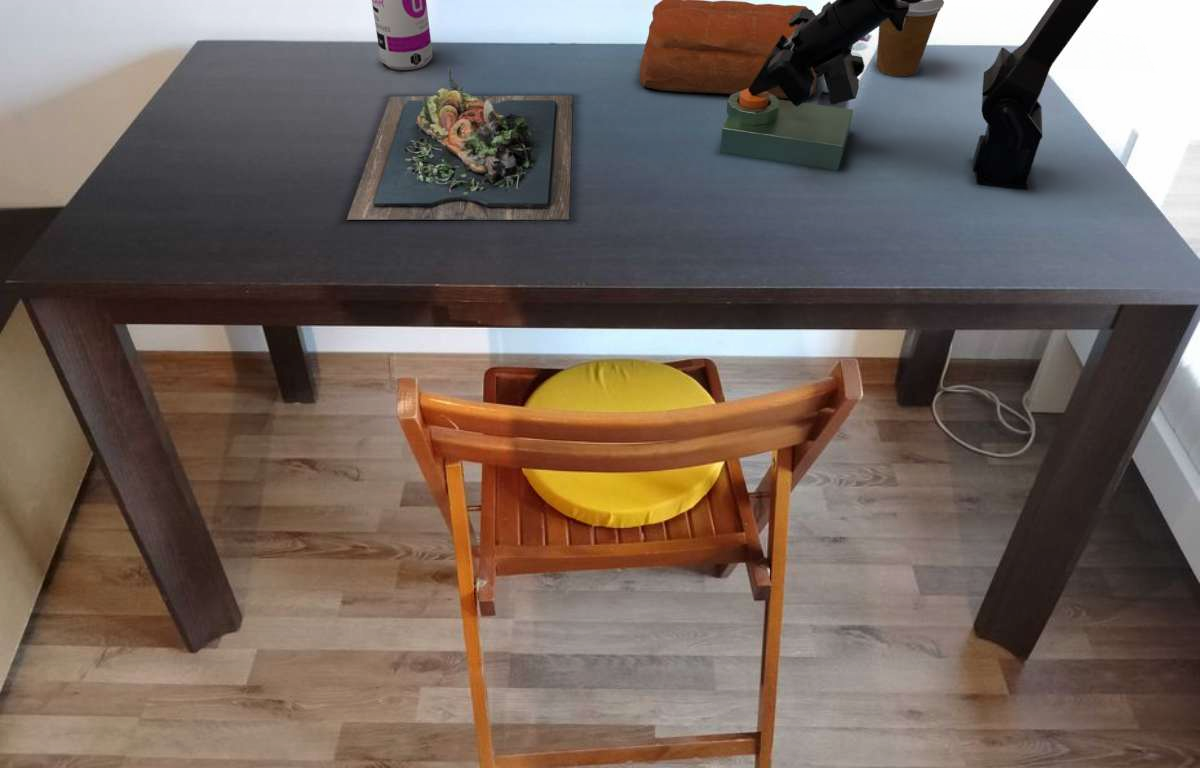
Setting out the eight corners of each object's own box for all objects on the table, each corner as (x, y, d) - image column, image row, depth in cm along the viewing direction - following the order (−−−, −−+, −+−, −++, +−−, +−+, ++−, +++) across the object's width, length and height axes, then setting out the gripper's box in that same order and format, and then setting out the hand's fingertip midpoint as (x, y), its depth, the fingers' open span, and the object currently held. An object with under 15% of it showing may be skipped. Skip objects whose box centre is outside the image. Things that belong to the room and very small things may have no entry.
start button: (769, 107, 135) (771, 90, 134) (764, 120, 132) (766, 102, 131) (741, 103, 136) (743, 86, 134) (735, 116, 133) (737, 98, 132)
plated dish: (385, 96, 147) (379, 49, 142) (573, 97, 147) (572, 50, 142) (346, 225, 121) (336, 172, 116) (574, 225, 121) (574, 172, 117)
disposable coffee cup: (855, 60, 156) (868, -17, 148) (907, 53, 159) (924, -23, 151) (885, 84, 150) (901, 6, 142) (939, 76, 152) (958, -2, 144)
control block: (848, 133, 138) (855, 97, 134) (838, 171, 130) (844, 133, 126) (733, 117, 142) (737, 81, 138) (716, 152, 134) (720, 115, 130)
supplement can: (443, 57, 157) (433, -39, 147) (409, 76, 152) (396, -23, 142) (404, 46, 160) (391, -49, 151) (370, 64, 155) (354, -33, 145)
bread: (815, 105, 144) (826, 35, 137) (635, 93, 147) (637, 23, 140) (814, 62, 156) (824, -5, 149) (647, 52, 159) (649, -15, 152)
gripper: (876, 101, 118) (774, 168, 128) (891, 43, 132) (798, 107, 142) (821, 29, 115) (721, 103, 125) (842, -24, 128) (750, 47, 138)
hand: (750, 92), depth 133 cm, fingers closed, pressing on start button
